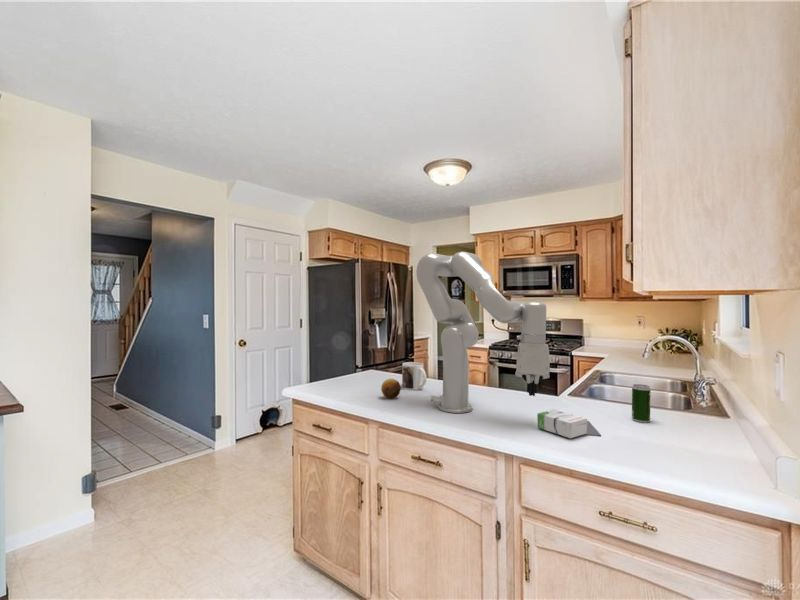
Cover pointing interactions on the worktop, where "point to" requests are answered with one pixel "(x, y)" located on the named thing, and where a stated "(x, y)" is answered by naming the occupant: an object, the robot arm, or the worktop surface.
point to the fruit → (391, 388)
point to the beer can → (641, 403)
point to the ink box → (562, 423)
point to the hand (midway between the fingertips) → (531, 394)
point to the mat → (591, 430)
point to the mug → (413, 376)
